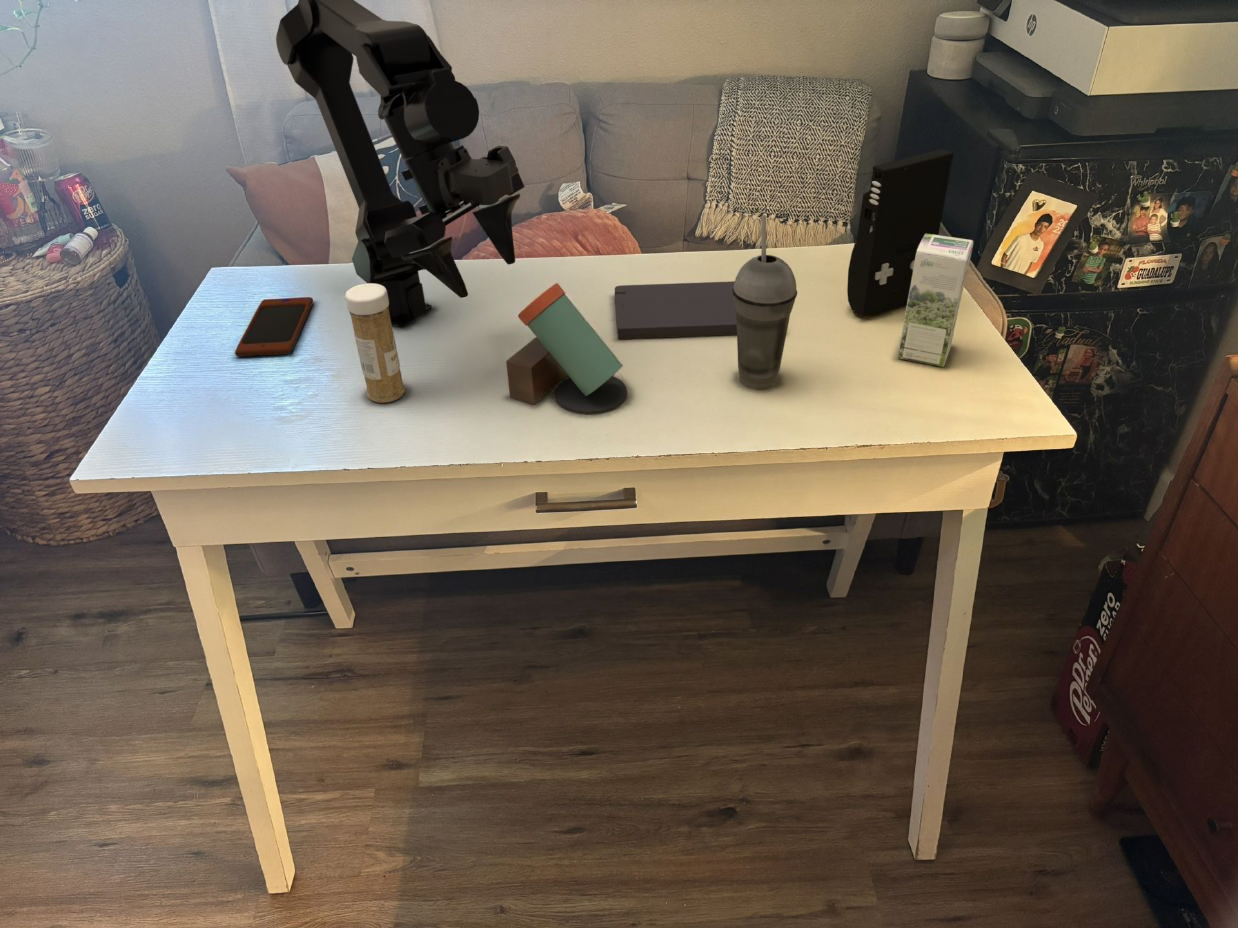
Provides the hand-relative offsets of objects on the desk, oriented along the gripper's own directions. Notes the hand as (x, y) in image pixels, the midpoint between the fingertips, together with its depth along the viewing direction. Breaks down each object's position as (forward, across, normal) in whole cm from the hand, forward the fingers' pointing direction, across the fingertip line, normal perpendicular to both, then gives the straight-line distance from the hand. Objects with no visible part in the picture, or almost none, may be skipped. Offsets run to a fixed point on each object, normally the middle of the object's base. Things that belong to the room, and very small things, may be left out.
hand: (488, 279), depth 108 cm
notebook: (+18, +24, -9) cm, 31 cm away
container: (+15, -1, -6) cm, 16 cm away
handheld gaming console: (+27, +38, -29) cm, 55 cm away
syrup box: (+29, +27, -36) cm, 54 cm away
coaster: (+16, 0, -8) cm, 18 cm away
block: (+14, -1, -2) cm, 14 cm away
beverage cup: (+23, +12, -22) cm, 34 cm away
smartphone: (-2, -7, +34) cm, 35 cm away
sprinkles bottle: (+7, -12, +12) cm, 18 cm away
